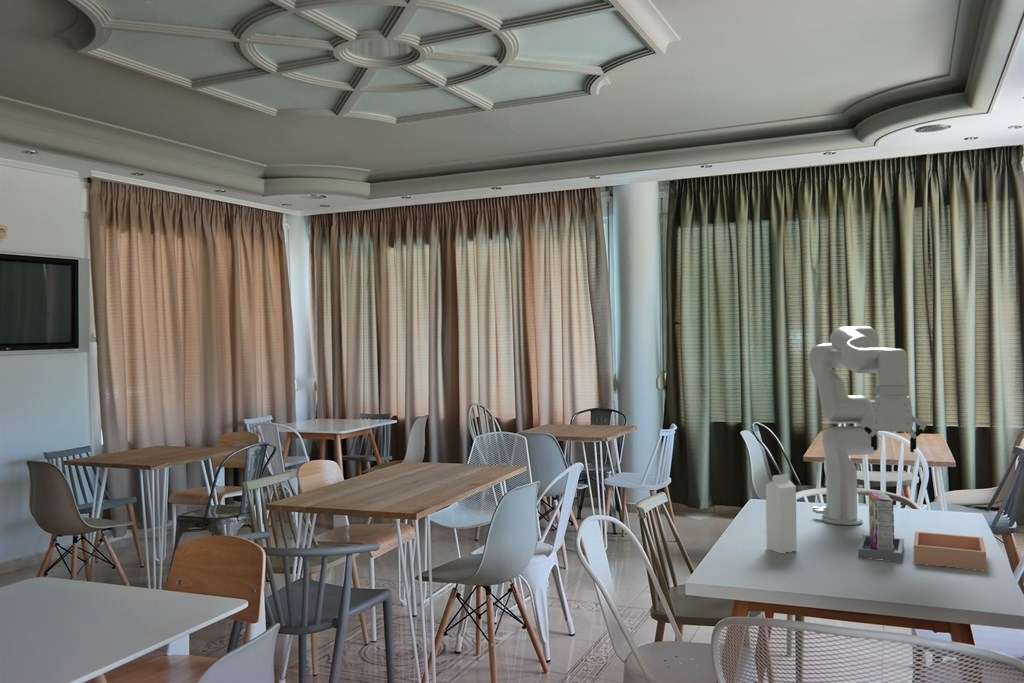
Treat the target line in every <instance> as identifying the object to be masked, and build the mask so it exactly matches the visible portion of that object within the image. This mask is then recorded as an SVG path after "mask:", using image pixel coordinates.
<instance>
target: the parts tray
mask: <svg viewBox="0 0 1024 683" xmlns="http://www.w3.org/2000/svg"><path fill="white" fill-rule="evenodd" d="M866 544H870V535H867V534H866V535H865V534H863V535H862V537H861V539H860V542H859V545H858V548H857V558H858V557H862V558H861V559H865V558H872V559H871V560H874V559H883V560H882V561H884V560H890V561H889V562H893V561H900V562H899V563H902V562H903V555H904V550H905V549H904V548H905V546H904V544H905V539H904V538H898V537H897V538H896V537H894V548H896V547H898V548H897V551H894V552H893V551H883V550H873V549H871V548H870V549H869V548H866V547H865V546H867V545H866ZM903 549H904V550H903Z"/></svg>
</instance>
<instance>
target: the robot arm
mask: <svg viewBox="0 0 1024 683" xmlns="http://www.w3.org/2000/svg"><path fill="white" fill-rule="evenodd" d="M878 345H879V335H878V333H877V331H876V329H875V328H873V327H871V326H867V325H863V326H862V325H859V326H854V325H853V326H848V325H847V326H846V325H845V326H840V327H837V328H836V329H834V330H833V331H832V332H831V334H830V336H829V342H827V343H826V342H825V343H820V344H816V345H814V346H812V347H811V349H810V351H809V357H808V358H809V359H808V360H809V366H810V371H811V374H812V376H813V377H814V380H815V382H816V385H817V388H818V395H819V401H820V407H821V411H822V415H823V418H824V421H826V422H827V423H829V424H856V426H855V425H854V426H851V425H849V426H848V425H846V426H845V425H842V426H831V427H829V428H826V429H825V430H824V431H823V434H822V445H823V450H824V457H825V480H826V486H825V488H826V489H825V492H826V498H825V499H826V505H825V506H822V507H819V506H812V513H815V514H819V515H820V514H822V515H821V520H822V521H823V522H825V523H828V524H832V525H839V526H855V525H856V526H857V525H860V524H863V518H862V517H861V516H859V515H858V476H857V475H858V474H857V467H856V464H854V462H853V461H852V460H851V458H850V457H849V456H860V455H861V456H866V455H867V456H869V455H873V454H876V453H877V451H878V450H879V446H880V439H879V432H896V433H897V432H899V433H900V432H901V433H904V432H905V433H906V432H907V434H909V435H910V438H909V450H910V453H914V452H915V450H917V438H918V437H919V436H920V435H921V434H922V433H923V432H924V430H925V429H926V427H927V425H928V423H927V422H925V421H924V420H921V419H919V418H917V417H915V416H913V407H912V400H911V397H910V396H909V395H908V367H907V365H908V361H907V360H908V359H907V352H906V350H905V349H903V348H893V347H878ZM844 368H847V369H848V370H849V371H850V372H854V373H857V374H877V381H878V382H877V384H878V385H877V386H873V387H872V392H873V393H877V395H876V396H875V398H874V404H873V405H872V402H871V401H870V399H869V398H868V397H867V396H865V395H861V394H859V395H857V394H854V395H853V394H852V395H849V394H848V393H847V391H846V386H845V385H846V384H845V382H844V380H843V379H842V377H841V376H840V375H839V374H838V373H837V372H836V371H834V369H844ZM914 423H915V424H917V425H919V428H918V429H917V430H916V431H915V430H914V429H913V427H914Z"/></svg>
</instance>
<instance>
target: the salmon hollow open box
mask: <svg viewBox="0 0 1024 683" xmlns="http://www.w3.org/2000/svg"><path fill="white" fill-rule="evenodd" d="M913 539H914V540H913V564H914V563H917V564H916V565H921V564H926V565H925V566H931V565H937V566H936V567H940V566H946V567H945V568H950V567H958V568H957V569H959V568H967V569H966V570H968V569H976V570H975V571H978V570H984V571H983V572H987V551H986V545H985V541H984V537H982V536H972V535H971V536H969V535H958V534H946V533H937V532H936V533H935V532H926V531H914V538H913ZM927 564H928V565H927ZM947 566H948V567H947Z"/></svg>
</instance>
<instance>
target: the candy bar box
mask: <svg viewBox="0 0 1024 683" xmlns="http://www.w3.org/2000/svg"><path fill="white" fill-rule="evenodd" d="M894 513H895V512H894V500H893V498H892V497H891V496H889V494H887V492H884V491H869V492H868V521H869V522H868V523H869V524H868V525H869V527H868V528H869V536H870V545H869V547H870V549H873V550H883V551H893V552H895V547H894V538H895V519H894V516H895V514H894Z"/></svg>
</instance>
